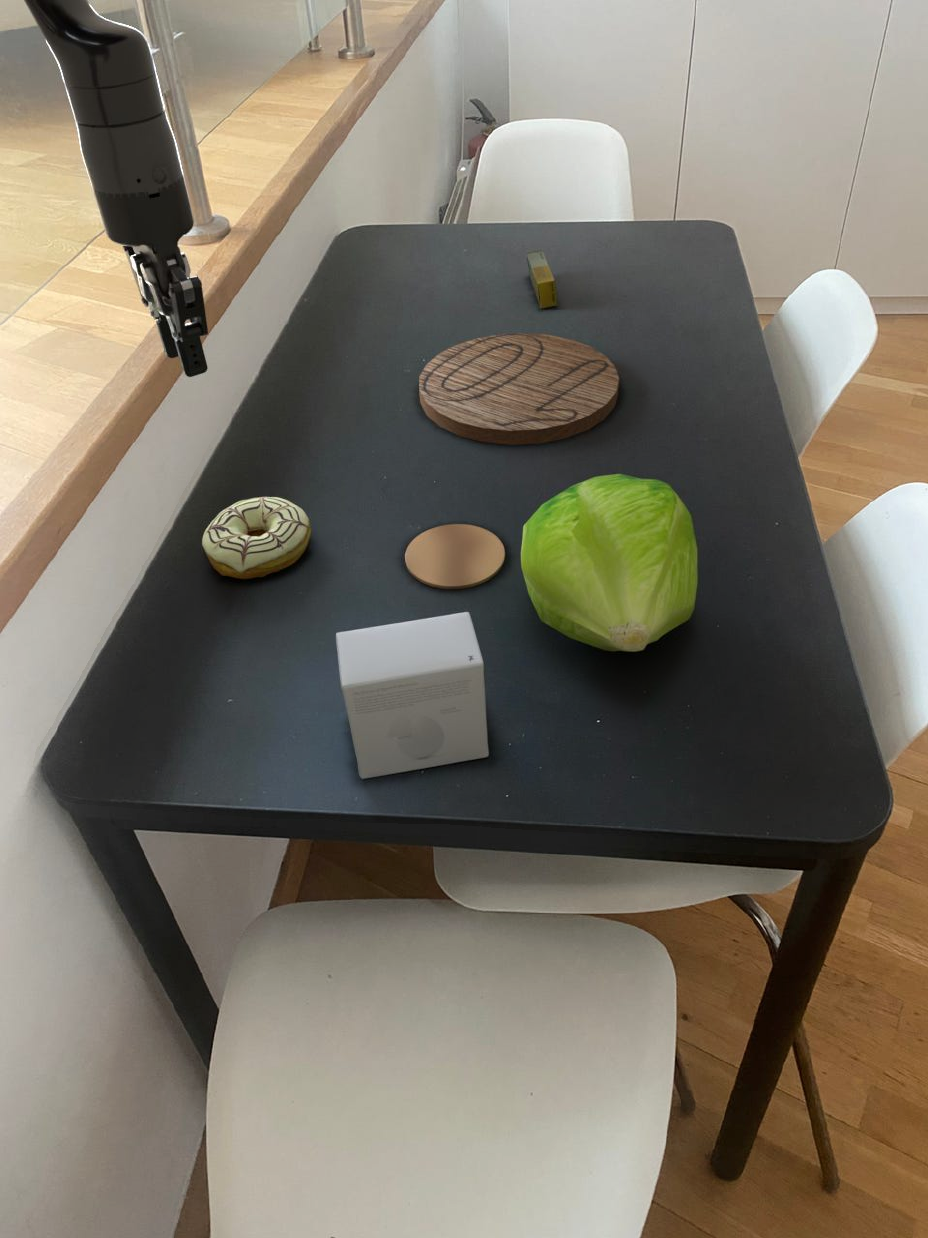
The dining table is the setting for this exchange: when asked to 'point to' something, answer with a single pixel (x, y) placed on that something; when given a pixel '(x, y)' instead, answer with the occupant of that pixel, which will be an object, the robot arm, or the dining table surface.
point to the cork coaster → (455, 556)
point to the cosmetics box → (414, 694)
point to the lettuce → (612, 562)
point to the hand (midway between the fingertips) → (186, 363)
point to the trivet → (518, 388)
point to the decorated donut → (256, 537)
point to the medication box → (542, 279)
